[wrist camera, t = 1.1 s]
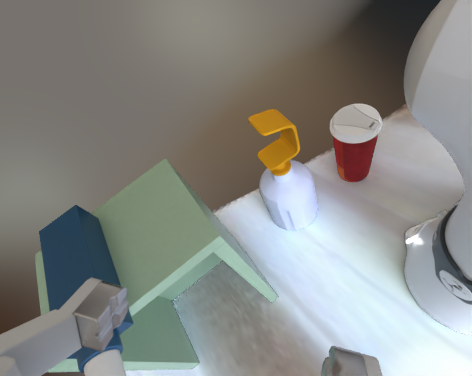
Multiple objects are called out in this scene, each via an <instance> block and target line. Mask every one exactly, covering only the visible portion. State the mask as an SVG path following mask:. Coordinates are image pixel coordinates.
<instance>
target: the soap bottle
mask: <svg viewBox="0 0 472 376" xmlns="http://www.w3.org/2000/svg"><path fill="white" fill-rule="evenodd" d="M249 123H250V124H251V125H252V126H253V127H254V128H255V129H256V130H257V131H258V132H259V133H260V134H261V135H263V136H264V135H265V136H267V135H270V134H272V133H275V132H278V131H281V136H280V138H279V139H277V140H276V141H274V142H273V143H271V144H270V145H268V146H267V147H265V148H264V149H262V150H261V151H259V153H258V157H259V159H260V160H261V161H262V163H263V164H264V165H265V166H266V167H267V169H266V170H265V172H264V173H263V174H262V177H261V179H260V183H259V190H260V194H261V196H262V198H263V200H264V202H265V204H266V206H267V208H268V210H269V212H270V214H271V216H272V219H273V221H274V222H275V223H276V224H277V225H278V226H279V227H281V228H283V229H286V230H293V231H297V230H301V229H304V228H306V227H307V226H309V225H310V224H312V222H313V221H314V220H315V218H316V216H317V213H318V205H317V198H316V192H315V186H314V180H313V175H312V173H311V172H310V170H309V169H308V168H307V167H306V166H305V165H303V164H302V163H300V162H298V161H294V160H290V159H291V158H293V157H295V156H296V155H297V154H298V152H299V151H300V144H299V139H298V134H297V129H296V127H295V125H294V124H292V123H291V122H290V121H289V120H288V119H287V118H286V117H284V116H283V115H282V114H281V113H280V112H279V111H277V110H276V109H270V110H267V111H264V112H262V113H259V114H255V115H252V116H250V117H249Z"/></svg>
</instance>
